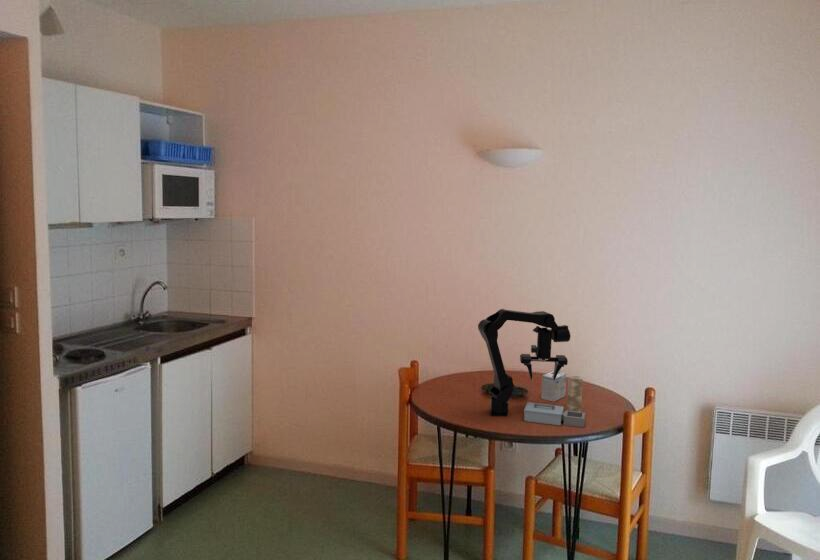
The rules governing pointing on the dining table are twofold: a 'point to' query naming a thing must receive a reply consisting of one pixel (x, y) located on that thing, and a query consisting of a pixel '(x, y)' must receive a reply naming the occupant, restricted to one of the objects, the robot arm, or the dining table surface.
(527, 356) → the robot arm
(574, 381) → the wooden block
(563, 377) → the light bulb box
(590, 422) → the dining table surface
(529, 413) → the toolbox
